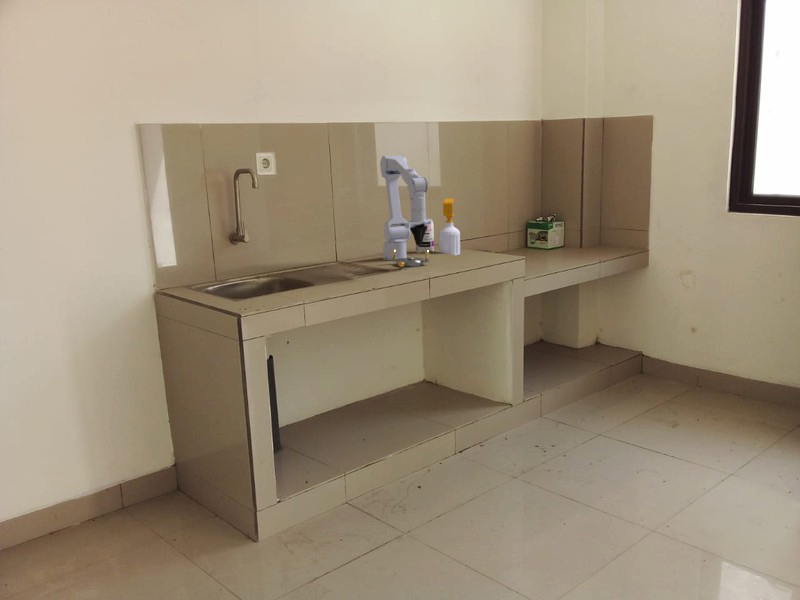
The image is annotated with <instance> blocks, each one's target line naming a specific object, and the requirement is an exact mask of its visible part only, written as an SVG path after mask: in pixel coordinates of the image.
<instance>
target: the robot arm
mask: <svg viewBox="0 0 800 600" xmlns="http://www.w3.org/2000/svg"><path fill="white" fill-rule="evenodd" d="M379 164H380V165H379V167H380V173H381V177H382V178H383V179H385V185H386V194H387V196H386V197H387V204H388V210H389V211H388V212H389V219H388V220H386V221H385V223H384V226H383V227H384V231H383V236H384V238H385V241H384V242H383V245H382V255H383V260H384V261H392V249H396V259H400V258H407V255H408V254H407V242H408V240H409V239H410V237H411V233H412V235H413V240H414V242H415V246H416V245H422V243H423V238H424V235H425V232H426V230H427V226H424V225H426V224H432V221H433V219H432V218H427V216H426V213H427V212H426V209H427V208H426V193H427V192H428V186H429V185H428V183H429V182H428V180H427V178H426V177H425V176H420V175H419V174H418V173H417V171H416V170H415V169H414V168H411V167H409V165H408V159H407V157H406V156H405V155H404V154H402V155H382V157H380V162H379ZM399 178H402V179H401V180H403V182H404V183H405V184H406V186H407V191H408V197H409V199H410V202H409V203H410V220H409V221H408V220H407V219H405V218H404V217H403V215H402V208H401V200H400V199H401V198H400V192H399V190H400V189H399V182H398V181H399V180H398V179H399ZM417 224H418V225H417Z"/></svg>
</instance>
